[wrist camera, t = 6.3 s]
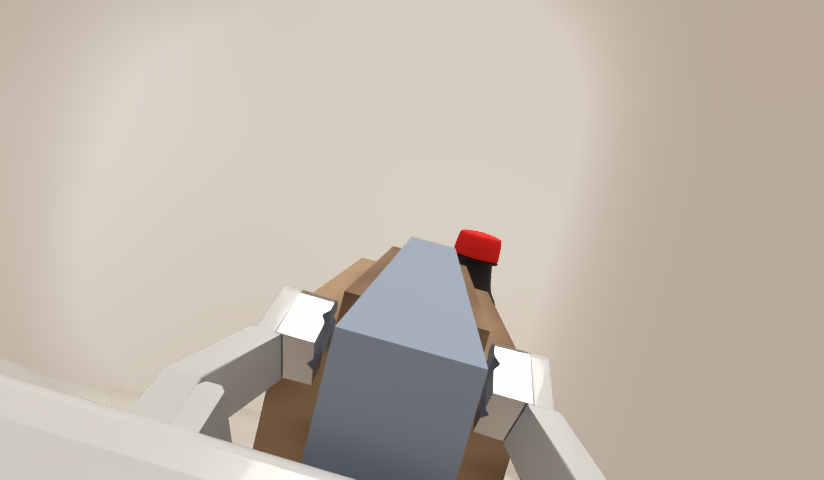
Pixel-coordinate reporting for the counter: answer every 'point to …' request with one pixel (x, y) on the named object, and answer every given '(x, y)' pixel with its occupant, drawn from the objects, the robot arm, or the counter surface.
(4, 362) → the counter surface
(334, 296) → the walnut block
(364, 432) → the gray block
